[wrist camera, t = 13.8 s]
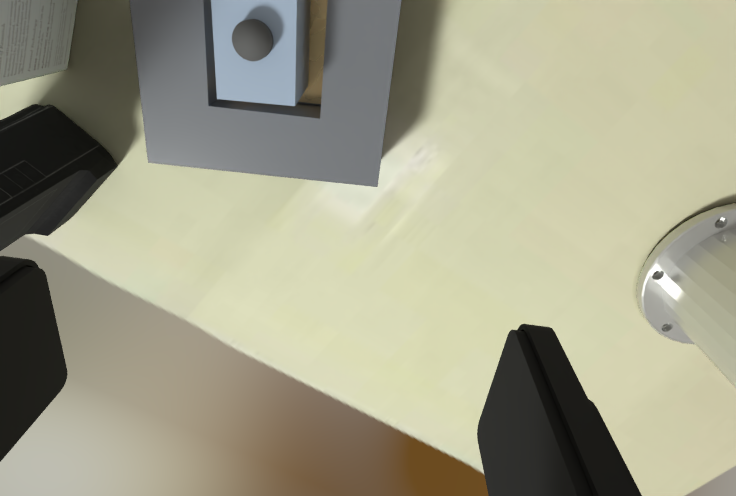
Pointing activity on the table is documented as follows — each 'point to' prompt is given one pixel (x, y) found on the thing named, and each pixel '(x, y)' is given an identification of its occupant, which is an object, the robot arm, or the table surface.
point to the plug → (261, 50)
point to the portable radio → (45, 171)
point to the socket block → (268, 121)
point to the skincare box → (34, 38)
